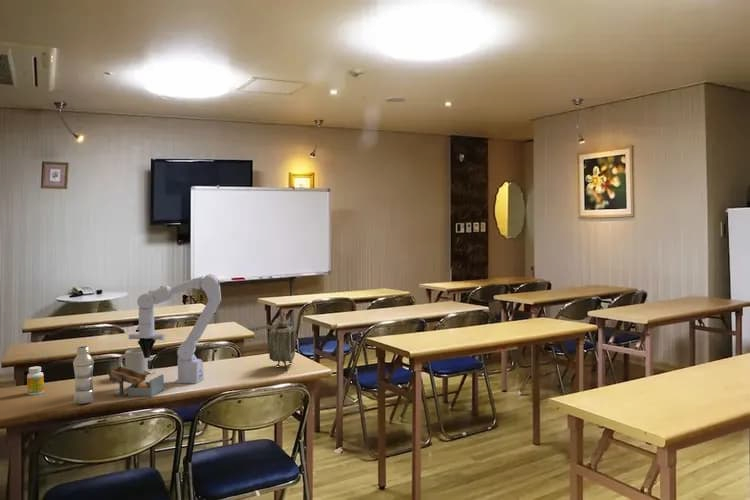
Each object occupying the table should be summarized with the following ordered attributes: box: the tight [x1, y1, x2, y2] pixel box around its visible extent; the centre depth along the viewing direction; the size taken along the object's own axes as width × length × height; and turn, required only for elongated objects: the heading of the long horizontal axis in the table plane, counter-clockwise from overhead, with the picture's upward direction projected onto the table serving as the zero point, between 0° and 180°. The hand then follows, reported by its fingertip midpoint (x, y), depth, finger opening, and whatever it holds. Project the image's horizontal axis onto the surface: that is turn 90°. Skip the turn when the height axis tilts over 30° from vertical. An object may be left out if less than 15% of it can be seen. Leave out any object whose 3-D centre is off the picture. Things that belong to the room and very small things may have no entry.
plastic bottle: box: [72, 345, 96, 405], centre depth 204 cm, size 6×7×20 cm
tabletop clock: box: [268, 310, 296, 370], centre depth 252 cm, size 14×9×25 cm, turn 179°
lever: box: [108, 366, 156, 385], centre depth 220 cm, size 11×13×4 cm
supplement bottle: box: [26, 365, 45, 396], centre depth 217 cm, size 5×5×10 cm
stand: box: [113, 378, 133, 398], centre depth 217 cm, size 5×11×7 cm, turn 172°
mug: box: [118, 348, 149, 378], centre depth 240 cm, size 12×8×11 cm
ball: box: [137, 381, 147, 388], centre depth 216 cm, size 4×4×4 cm
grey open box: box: [127, 374, 165, 398], centre depth 216 cm, size 9×9×6 cm
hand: (147, 357), depth 229 cm, fingers closed
